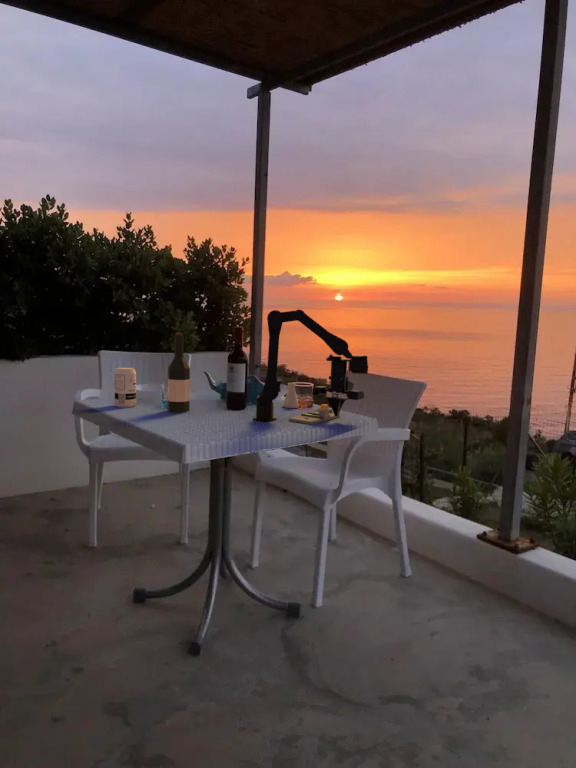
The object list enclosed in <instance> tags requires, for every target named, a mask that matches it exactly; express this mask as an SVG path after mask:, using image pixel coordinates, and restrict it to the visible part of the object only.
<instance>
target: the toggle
mask: <svg viewBox="0 0 576 768" xmlns="http://www.w3.org/2000/svg"><path fill="white" fill-rule="evenodd" d="M328 407H329V404H326V403H322V404H320V408H319V409H320V410H319V416H321V417H324V418H325V417H329V409H328Z"/></svg>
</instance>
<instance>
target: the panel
mask: <svg viewBox="0 0 576 768" xmlns="http://www.w3.org/2000/svg"><path fill="white" fill-rule="evenodd" d="M315 411H316V410H315ZM337 418H340V413H339V415H338V416H335V415H334V412H330V413H329V417H325V418H324V417H321V416H319V411H316V412H314V411H312V412H309V411H308V412H307V413H300V415H296V416H294V417H293V416H292V417H289V418H288V421H289V422H293V423H299V424H306V425H317V424H319V423H323V422H326V421H331V420H333V419H337Z"/></svg>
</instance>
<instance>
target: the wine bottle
mask: <svg viewBox="0 0 576 768" xmlns="http://www.w3.org/2000/svg"><path fill="white" fill-rule="evenodd" d="M184 339H185V337H184V334H183V332H175V335H174V357H173V359H172V360H171V362H170V363H169V365H168V366H167V411H168V412H169V413H175V414H177V413H178V414H179V413H180V412H185V413H188V412H187V411H189V412H190V393H191V392H190V389H191V388H190V381H191V379H190V378H191V376H190V375H191V373H190V372H191V368H190V366H189V364H188V362H187V361H186V359H185V358H184V354H185V353H184V350H185V349H184V348H185V347H184V346H185V345H184V344H185V342H184ZM180 414H181V413H180Z"/></svg>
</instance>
